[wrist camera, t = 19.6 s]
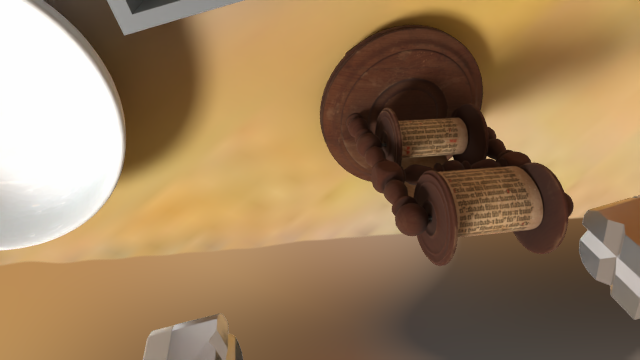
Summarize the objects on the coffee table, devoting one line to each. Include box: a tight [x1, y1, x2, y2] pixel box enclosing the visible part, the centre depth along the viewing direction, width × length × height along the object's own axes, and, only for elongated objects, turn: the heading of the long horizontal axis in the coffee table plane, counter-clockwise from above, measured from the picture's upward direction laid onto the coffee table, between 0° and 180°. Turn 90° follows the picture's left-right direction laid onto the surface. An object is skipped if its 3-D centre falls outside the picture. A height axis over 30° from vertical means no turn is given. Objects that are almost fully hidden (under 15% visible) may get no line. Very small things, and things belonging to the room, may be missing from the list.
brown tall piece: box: [320, 25, 573, 266], centre depth 32 cm, size 15×15×20 cm
